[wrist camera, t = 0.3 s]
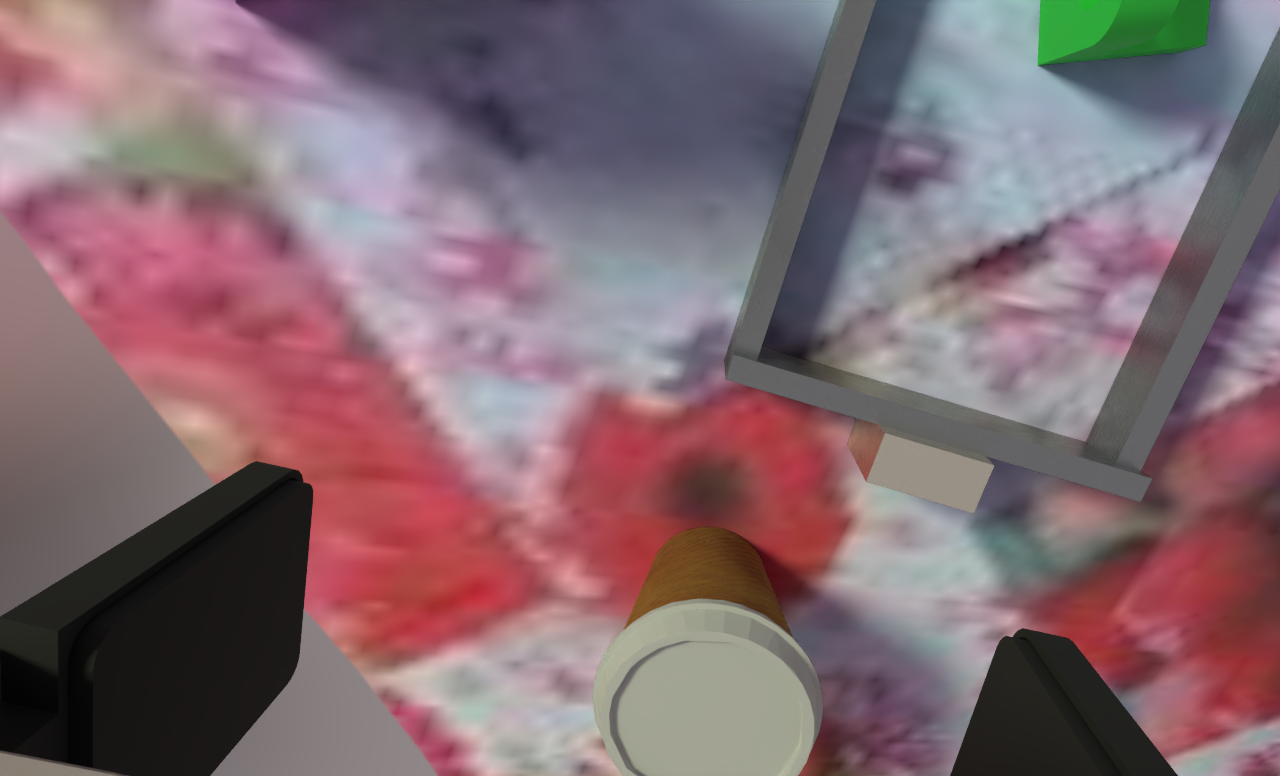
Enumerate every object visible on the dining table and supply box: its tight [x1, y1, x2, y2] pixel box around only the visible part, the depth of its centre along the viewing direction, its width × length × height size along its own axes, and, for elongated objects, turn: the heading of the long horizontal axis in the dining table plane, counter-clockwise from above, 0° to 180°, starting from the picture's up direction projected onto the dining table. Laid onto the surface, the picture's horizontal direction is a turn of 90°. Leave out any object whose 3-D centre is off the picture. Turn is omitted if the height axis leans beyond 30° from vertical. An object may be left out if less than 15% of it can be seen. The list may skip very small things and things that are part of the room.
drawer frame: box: [724, 0, 1280, 514], centre depth 34 cm, size 24×20×5 cm
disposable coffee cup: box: [592, 527, 823, 776], centre depth 37 cm, size 10×10×12 cm
